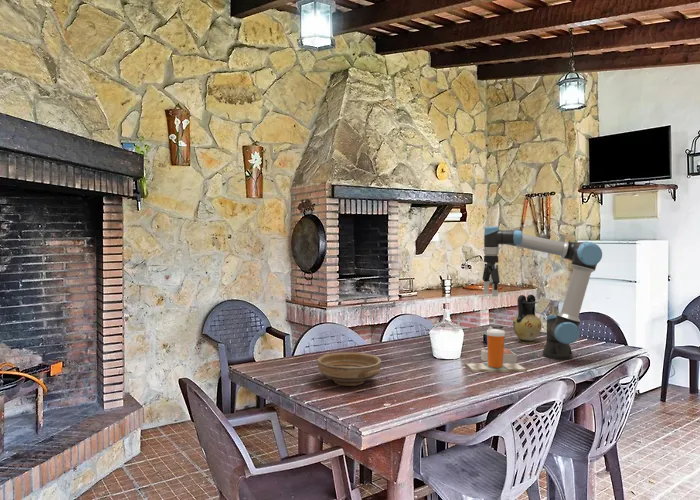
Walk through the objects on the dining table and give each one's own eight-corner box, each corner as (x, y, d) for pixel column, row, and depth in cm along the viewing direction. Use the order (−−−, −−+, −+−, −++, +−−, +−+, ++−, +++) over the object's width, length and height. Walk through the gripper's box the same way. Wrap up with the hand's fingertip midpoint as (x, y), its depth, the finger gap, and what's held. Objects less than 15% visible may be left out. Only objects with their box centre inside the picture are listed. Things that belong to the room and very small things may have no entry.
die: (490, 358, 270) (490, 349, 269) (493, 361, 265) (493, 351, 264) (481, 358, 269) (481, 349, 269) (484, 361, 264) (484, 351, 264)
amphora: (521, 338, 327) (522, 292, 327) (546, 342, 315) (547, 295, 314) (507, 341, 315) (508, 294, 315) (532, 346, 303) (533, 297, 302)
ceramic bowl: (401, 385, 218) (401, 363, 218) (350, 398, 200) (350, 373, 200) (348, 368, 247) (348, 348, 247) (299, 377, 229) (300, 356, 229)
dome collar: (510, 358, 270) (510, 350, 270) (516, 362, 261) (517, 354, 261) (493, 358, 270) (493, 350, 270) (499, 363, 261) (499, 354, 260)
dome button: (508, 358, 269) (508, 346, 269) (513, 361, 262) (513, 349, 262) (497, 358, 268) (497, 346, 268) (501, 361, 262) (501, 349, 262)
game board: (517, 365, 256) (517, 363, 256) (526, 371, 244) (526, 369, 244) (465, 365, 254) (465, 363, 254) (472, 372, 242) (472, 369, 242)
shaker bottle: (505, 369, 243) (506, 328, 243) (486, 367, 245) (487, 327, 245) (503, 364, 252) (504, 325, 252) (485, 363, 254) (486, 324, 254)
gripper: (477, 254, 280) (476, 292, 281) (492, 255, 255) (491, 297, 256) (490, 254, 281) (489, 292, 281) (506, 256, 256) (506, 297, 256)
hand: (490, 294), depth 268 cm, fingers open, 13 cm apart
